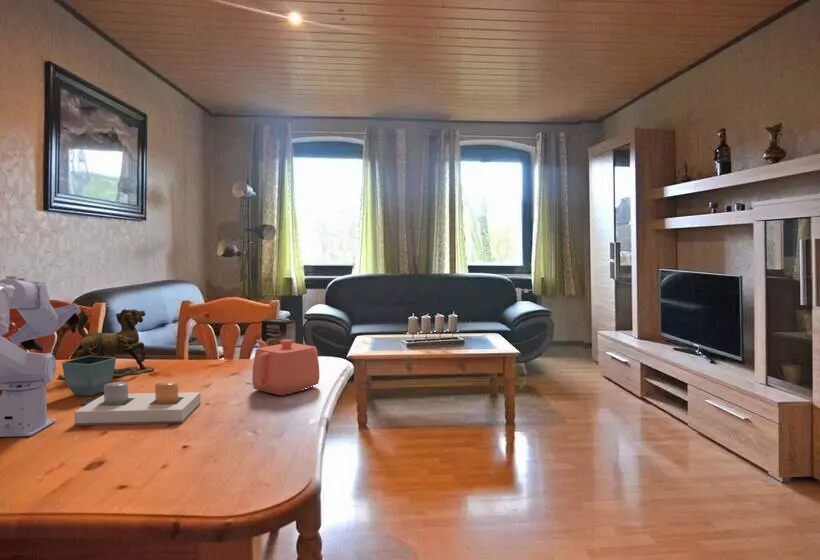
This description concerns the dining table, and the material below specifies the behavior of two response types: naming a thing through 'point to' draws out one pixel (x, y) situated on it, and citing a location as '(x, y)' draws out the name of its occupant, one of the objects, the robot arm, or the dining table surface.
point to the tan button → (166, 392)
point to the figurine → (115, 342)
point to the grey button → (115, 393)
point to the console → (138, 410)
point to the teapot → (285, 367)
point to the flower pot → (88, 374)
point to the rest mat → (89, 401)
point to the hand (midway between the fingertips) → (56, 338)
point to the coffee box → (278, 331)
